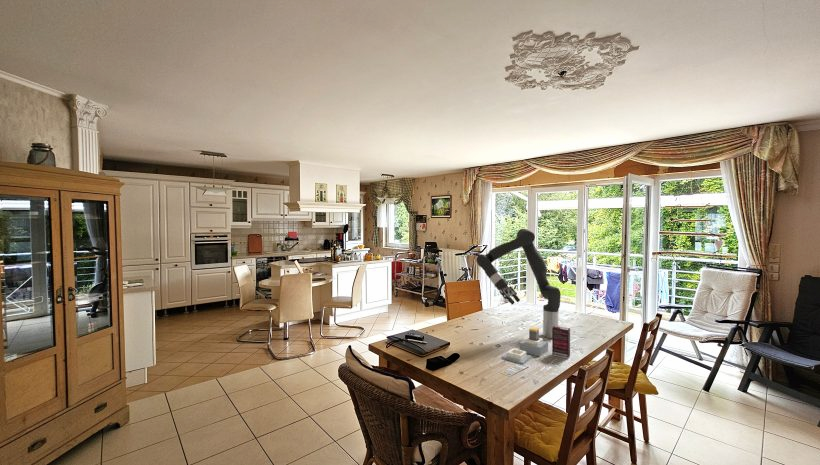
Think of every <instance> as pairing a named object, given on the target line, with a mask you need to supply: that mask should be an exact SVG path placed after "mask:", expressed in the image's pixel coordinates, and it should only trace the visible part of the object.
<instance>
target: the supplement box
mask: <svg viewBox="0 0 820 465" xmlns="http://www.w3.org/2000/svg"><path fill="white" fill-rule="evenodd" d="M551 342H552V345H551V348H552V349H551V353H552V356H553V357H558V358H563V359H569V358H570V356H571V328H570V327H565V326H559V325H558V326H553V327H552V338H551Z"/></svg>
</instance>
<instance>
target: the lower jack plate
mask: <svg viewBox="0 0 820 465" xmlns="http://www.w3.org/2000/svg"><path fill="white" fill-rule="evenodd" d="M532 358H533V356H532V355H531V354H530V355H529V354H527V353H526V351H522V350H520V349H517V348H514V347H513V348H512V349H510V350H508V351H507V352H506V353H505V354H503V355H502V356H501V359H503V360H505V361H509V362H513V363H517V364H520V365H525V364H526V363H527V362H528V361H530V360H532Z"/></svg>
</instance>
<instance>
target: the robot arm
mask: <svg viewBox="0 0 820 465" xmlns="http://www.w3.org/2000/svg"><path fill="white" fill-rule="evenodd" d="M535 238H536V235H535V233H534V232H533V231H532V230H529V229H527V228H521V229H519V230H517V233H516V238H514V239H513V240H511V241H508V242H507V241H506V242H504V243H501V244H499V245H497V246H496V247H494V248H492V249H490V250H489V251H488V252H487V253H486V254H483V253H482V254H479V255H477V256H476V264H477V265H478V267H480V268H482V270H483V271H484V273H485V275H486V276H487V277H488V279H489V280H490V282H491V283H492V284H493V285H494V287H495V288H496V289H497V290H498V291H499V293H500V295H501V296H502V298H503V299H504V300H507V301H508V302H509V303H510V305H514V304H515V303H519V302H521V299H520V297H518V293H517V291H515V289H514V288H513V286H511V285H510V286H508V285H509V282H508V281H507V280H506V278H505V276H503V274H501V272H499V271H498V269H497V268H496V267H495V266H494V265H493V262H494V261H497V260H498V259H500V258H501V257H504V256H505V255H507V254H509V253H511V252H513V251H515V250H517V249H520V248H522V249H523V251H524V254H525V257H526V259H527V262H528V265H529V266H530V269H531V271H532V273H533V276H534V278H535V280H536V282H537V283H536V284H537V286H538V289H539V291H540V295H541V296H542V298H543V299H545V300H547V304H544V305H543V307H542V308H543V309H542V313H543V319H542V337H544V338H547V339H552V327H553V326H559V309H560V307H561V297H562V296H561V290H560V289H559V288H558V287H557V286H553V285H551V284H550V283H549V281H548V278H547V272H548V271H547V270H548V268H547V263H546V262H545V259H544V258H543V256H542V255H541V253H540V252H539V251H538V249H537V248H536V246H535V244H534V241H535ZM513 299H514V300H513Z"/></svg>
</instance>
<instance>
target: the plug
mask: <svg viewBox="0 0 820 465" xmlns="http://www.w3.org/2000/svg"><path fill="white" fill-rule="evenodd" d="M539 334H540V328H537V327H533V326H531V327H530V328H529V330H528V335H529V336H528V337H529V339H530V340H534V341H538V340H539V338H540V337H539V336H540V335H539Z"/></svg>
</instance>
